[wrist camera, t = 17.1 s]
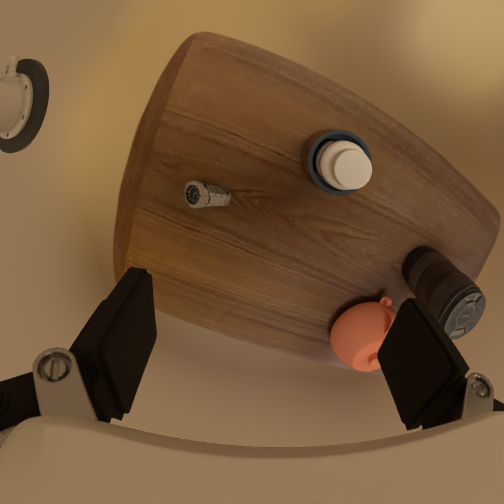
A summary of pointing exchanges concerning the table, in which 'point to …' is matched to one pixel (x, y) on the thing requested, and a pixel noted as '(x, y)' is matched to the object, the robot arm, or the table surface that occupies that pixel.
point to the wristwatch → (205, 194)
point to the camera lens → (444, 291)
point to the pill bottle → (342, 164)
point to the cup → (311, 147)
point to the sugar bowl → (362, 333)
